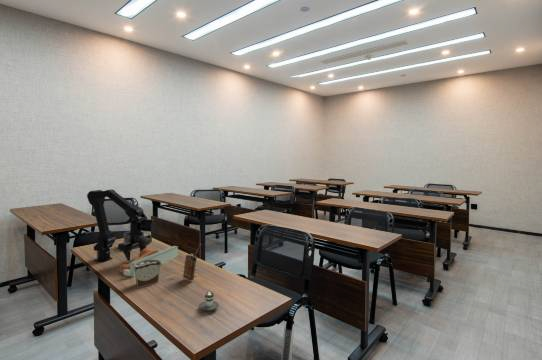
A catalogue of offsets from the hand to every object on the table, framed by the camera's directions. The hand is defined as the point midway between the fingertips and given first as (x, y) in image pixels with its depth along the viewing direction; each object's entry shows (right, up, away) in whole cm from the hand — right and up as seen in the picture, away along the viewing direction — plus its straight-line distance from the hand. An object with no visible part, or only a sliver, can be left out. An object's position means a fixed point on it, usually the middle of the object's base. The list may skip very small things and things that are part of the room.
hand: (135, 258), depth 160 cm
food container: (+17, -5, -27) cm, 32 cm away
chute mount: (+12, -3, -4) cm, 13 cm away
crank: (+6, -3, -7) cm, 9 cm away
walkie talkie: (+34, -5, -21) cm, 41 cm away
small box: (-14, -1, +25) cm, 28 cm away
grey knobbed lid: (+51, -7, -45) cm, 68 cm away
